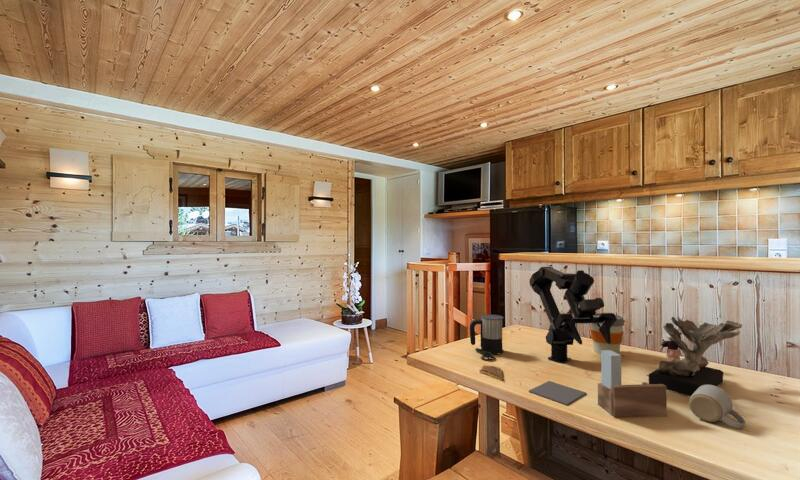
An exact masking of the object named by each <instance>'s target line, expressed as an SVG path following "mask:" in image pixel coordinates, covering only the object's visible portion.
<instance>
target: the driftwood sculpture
mask: <svg viewBox="0 0 800 480" xmlns="http://www.w3.org/2000/svg"><path fill="white" fill-rule="evenodd" d="M670 320H671V322H666V323H665V324H664V325H663V326H662V328H663V329H664V330H665V332H666V334H669V335H670V336H671V338H672V339H673V340H674V341H675V342H676V343H677V344H678V345H679V346H680V348H682V350H683V352H684V353H683V352H682V353H683V356H684V358H682V359H680V360H673V361H667V360H662V359H661V360H660V361H659V362H658V368H657V369H655V370H653V371H652V372H650V373H648V384H663V385H665V386H667V391H670V392H674V393H677V394H681V395H684V396H687V397H689V398H690V397H691V396H692V394H693V393H694V392H695V391H696V390H697V389H698V388H699V387H700V386H702V385H714V386H717V387H719V386H720V385H721V384H723V382H724V371H723V370H721V369H719V368H718V369H717V368H712V367H708V365H709V361H708V359H707V358H706V357H704V353H705V352H706V351H707V350H708V349H709V348H710V347H712V345H715V344H718V343H719V342H722V341H723V340H727V339H732V338H735V337H736V336H739V335H740V334H741V332H740V331H736V330H739V329H741V328H743V324H742V323H738V322H736V321H731V320H726V321H725V323H723V322H721V323H719V324H718V325H716V324H711V323H709V322H705V321H704V322H703V323H702V324H699V326H697V325H696V324H695V322H694V321H691V320H689V319H685V320H681V319H680V318H679V317H678V316H677V317H676V318H675V317H674V316H672V317H670ZM674 325H675V326H676V327H675V326H674ZM678 328H679V330H680V331H679V330H678ZM735 331H736V332H735ZM682 335H683V336H684V337H685V338H686V339H687V340H688V341H689V342H690V344H691V346H692V348H691V349H690V348H689V346H688V344H686V342H685V341H683V340H682V337H681V336H682ZM680 348H679V349H680ZM682 350H681V351H682ZM719 384H720V385H719ZM718 385H719V386H718Z"/></svg>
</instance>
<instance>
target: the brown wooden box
mask: <svg viewBox="0 0 800 480" xmlns="http://www.w3.org/2000/svg"><path fill="white" fill-rule="evenodd" d="M667 391H668V390H667V386H665V385H663V384H649V382H646V381H644V382H642V384H621V385H611V388H607V387H606V386H604V385H603V384H601V382H598V383H597V405H598V406H599V407H601V409H603V411H606V412H607V413H608V414H609V415H611V416H612V417H613V418H614V419H615V418H616V419H618V418H619V419H621V418H655V417H656V418H660V417H661V418H662V417H663V418H664V417H668V416H667V415H668V411H667V409H668V408H667V407H668V406H667V405H668V404H667V401H668V397H667V395H668V393H667Z"/></svg>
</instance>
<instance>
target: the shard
mask: <svg viewBox="0 0 800 480" xmlns="http://www.w3.org/2000/svg"><path fill="white" fill-rule="evenodd" d="M479 373H480V374H483V375H486V376H489V377H490V378H493V379H495V380H497V381H503V372H502V369H501V367H499V366H495V365H486V364H485V365H481V369H479Z"/></svg>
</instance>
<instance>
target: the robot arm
mask: <svg viewBox="0 0 800 480" xmlns="http://www.w3.org/2000/svg"><path fill="white" fill-rule="evenodd" d="M554 282H555V286H556V287H557V288H558V290H565V292H564V295H563V301H567V303H568V306H569V310H568V311H569V312H567V313H561V312H560V310H559V308H558V305H557V303H556V301H555V298H554V296H553V293H552V291H551V288H552V287H553V283H554ZM528 283H529V286H530V287H531V289H532V291H533V292H534V293H536V294H537V296H539V298H540V300H541V303H542V305H543V308H544V310H545V313H546V316H547V318H548V321H549V327H548V332H547V334H546V335H545V341H546V343H547V344H548V345H550V346H551V353H550V354H551V355H550V356H548V357H547V360H550V361H555V362H558V363H562V364H565V363H566V362H569V361H571V360H572V358H571V357H568V346H573V345H574V341H575V342H577V343H578V345H582V344H583V340H582V337H581V335H580V333H579V330H578V328H577V324H581V325H582V324H590V323H597V325H598V327H600V328H599V331H600V332H601V334H602V335H603V337H604V339H605V340H606V342H607V343H608V344H610V343H611V337H610V327H611V326H612V325H613V324H614V323H615V321H616V320H617V318H616V316H615V315H616V314H615V313H613V312H600V313H601V315H600V316H599V317H593V315H595V314H596V313H597V312H596V311H597V310H601V309H602V308H604V307H605V302H604V300H603V298H602V297H596V298H594V299H593V298H591V299H590V298H589V299H586V297H585V295H587V294H588V293H589V291H590V289H591V287H593V284H594V283H595V279H594V277H593V276H592V275H590V274H589V273H586V272H585V271H584V270H583V269H582V270H577V271H576V273H572V272H571V273H569V272H567V273H566V272H563V271H561V270H558V269H557V268H556V269H555V268H554V267H552V266H541V267H539V269H538V270H536V271H534V273H532V275H531V276H530V278H529V282H528Z"/></svg>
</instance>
